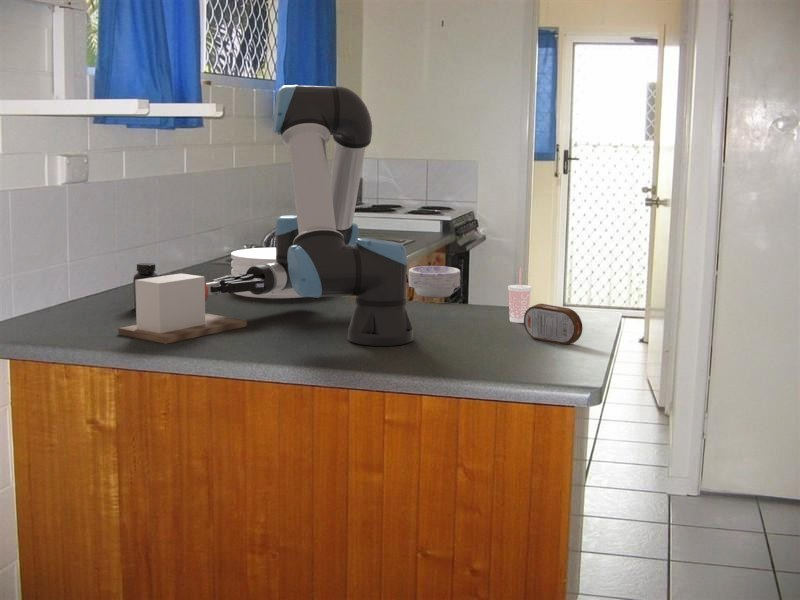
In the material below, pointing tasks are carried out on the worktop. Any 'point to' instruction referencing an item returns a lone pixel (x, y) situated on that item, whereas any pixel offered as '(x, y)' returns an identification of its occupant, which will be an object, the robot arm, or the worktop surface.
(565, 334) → the tin
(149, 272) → the supplement bottle
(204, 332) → the board
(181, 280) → the block
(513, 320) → the beverage cup
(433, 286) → the paper bowls
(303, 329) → the worktop surface
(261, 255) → the plate stack
